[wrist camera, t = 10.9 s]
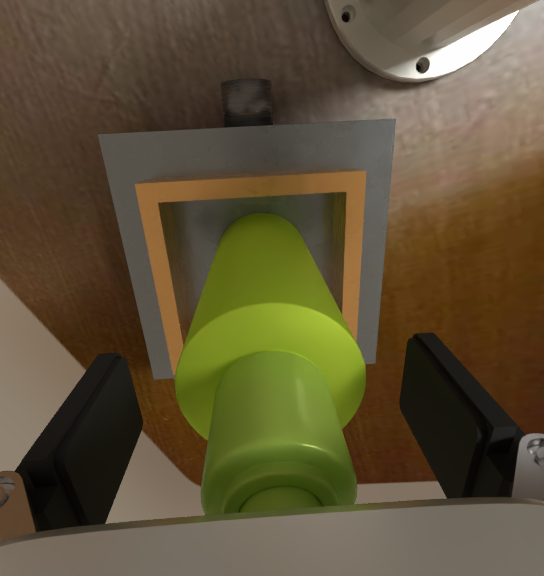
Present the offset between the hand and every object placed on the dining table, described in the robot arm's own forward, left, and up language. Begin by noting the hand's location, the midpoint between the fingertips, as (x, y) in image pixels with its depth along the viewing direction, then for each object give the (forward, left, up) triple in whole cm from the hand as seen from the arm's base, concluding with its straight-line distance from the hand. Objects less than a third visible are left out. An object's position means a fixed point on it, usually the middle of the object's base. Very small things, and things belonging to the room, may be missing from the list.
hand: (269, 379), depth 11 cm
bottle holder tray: (-1, 0, -16) cm, 16 cm away
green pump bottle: (0, 0, -12) cm, 12 cm away
